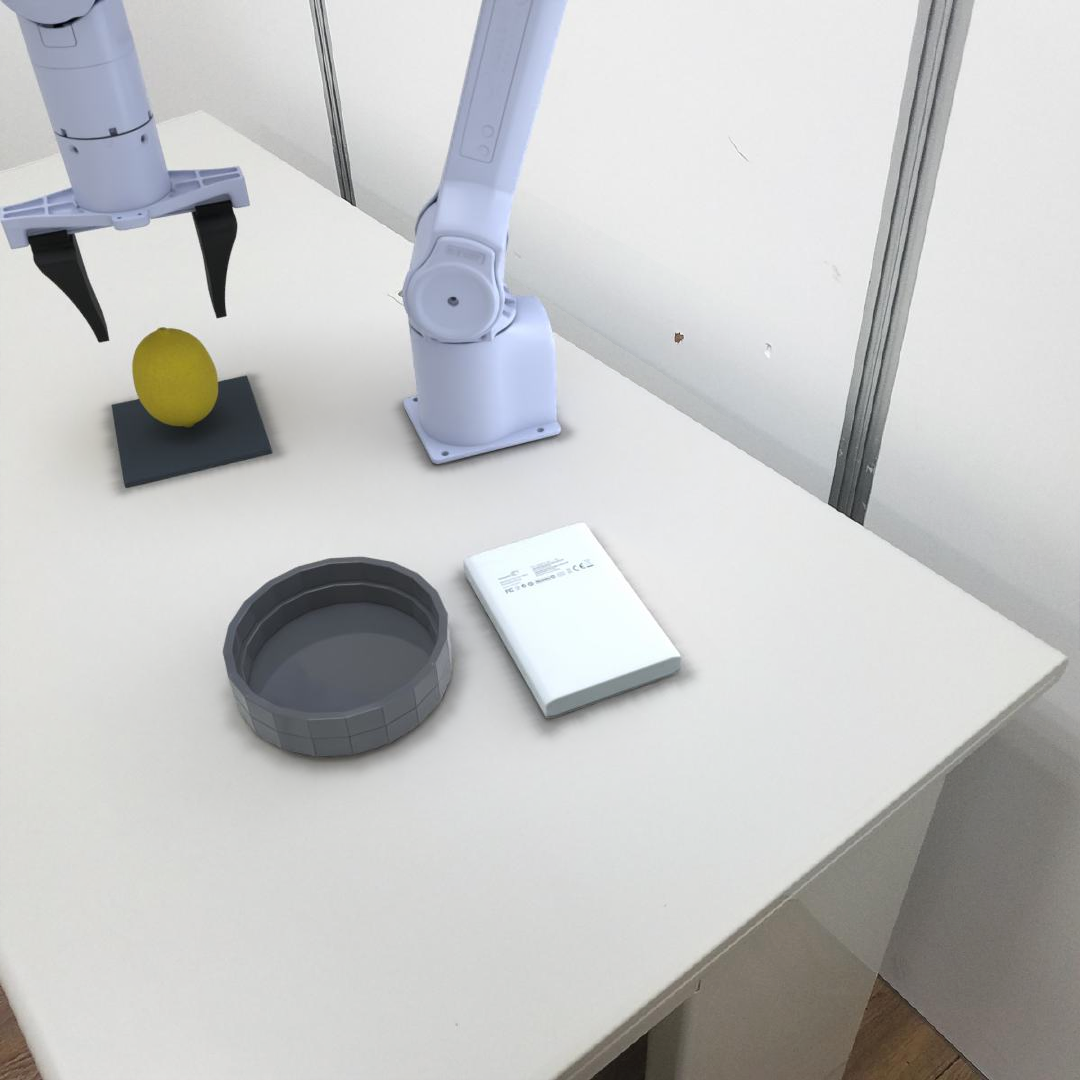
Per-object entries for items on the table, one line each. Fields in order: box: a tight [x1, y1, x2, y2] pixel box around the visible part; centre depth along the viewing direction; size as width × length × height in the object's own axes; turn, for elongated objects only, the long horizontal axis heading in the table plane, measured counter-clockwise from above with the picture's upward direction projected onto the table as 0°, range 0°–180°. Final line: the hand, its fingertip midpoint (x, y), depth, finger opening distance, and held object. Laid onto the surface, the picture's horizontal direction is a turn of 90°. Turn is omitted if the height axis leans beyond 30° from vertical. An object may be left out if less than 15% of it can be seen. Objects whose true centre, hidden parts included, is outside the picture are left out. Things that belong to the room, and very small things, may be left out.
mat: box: [111, 375, 273, 488], centre depth 80 cm, size 10×10×1 cm
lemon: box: [131, 326, 219, 428], centre depth 77 cm, size 6×6×8 cm
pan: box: [222, 556, 453, 757], centre depth 61 cm, size 12×12×3 cm
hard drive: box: [462, 522, 682, 719], centre depth 64 cm, size 2×8×12 cm
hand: (161, 322), depth 75 cm, fingers open, 7 cm apart
